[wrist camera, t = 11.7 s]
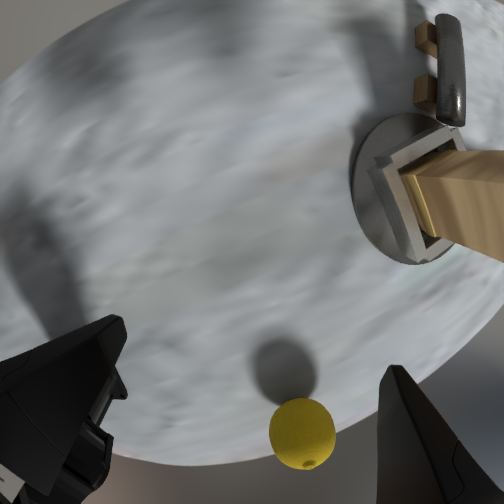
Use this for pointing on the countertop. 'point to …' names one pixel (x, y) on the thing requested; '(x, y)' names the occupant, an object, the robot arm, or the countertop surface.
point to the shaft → (442, 70)
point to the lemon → (302, 433)
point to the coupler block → (460, 198)
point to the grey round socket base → (398, 185)
